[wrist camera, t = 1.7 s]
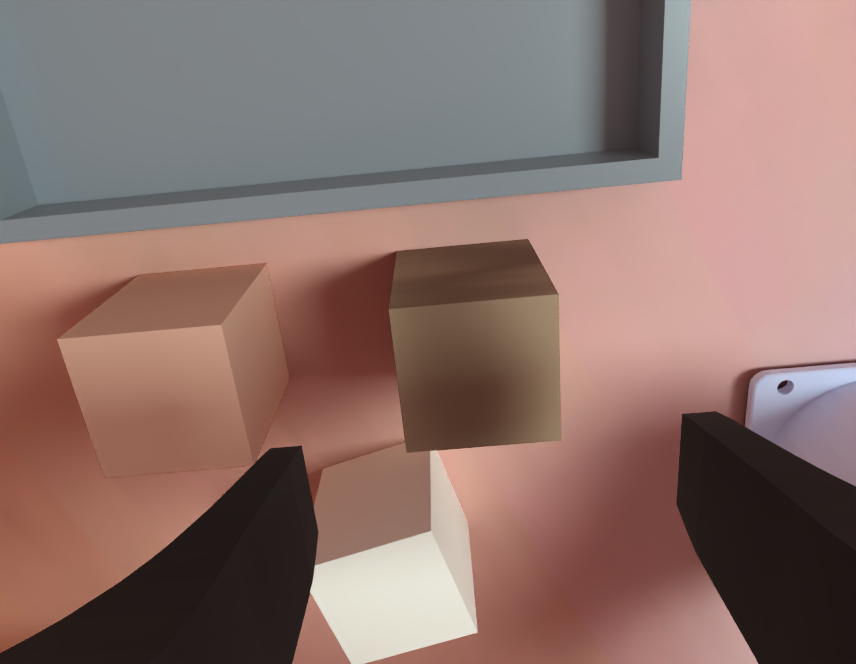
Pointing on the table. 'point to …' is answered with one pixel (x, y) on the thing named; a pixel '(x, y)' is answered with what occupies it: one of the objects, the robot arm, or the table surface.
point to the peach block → (179, 371)
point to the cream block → (392, 555)
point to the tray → (325, 106)
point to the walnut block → (475, 346)
